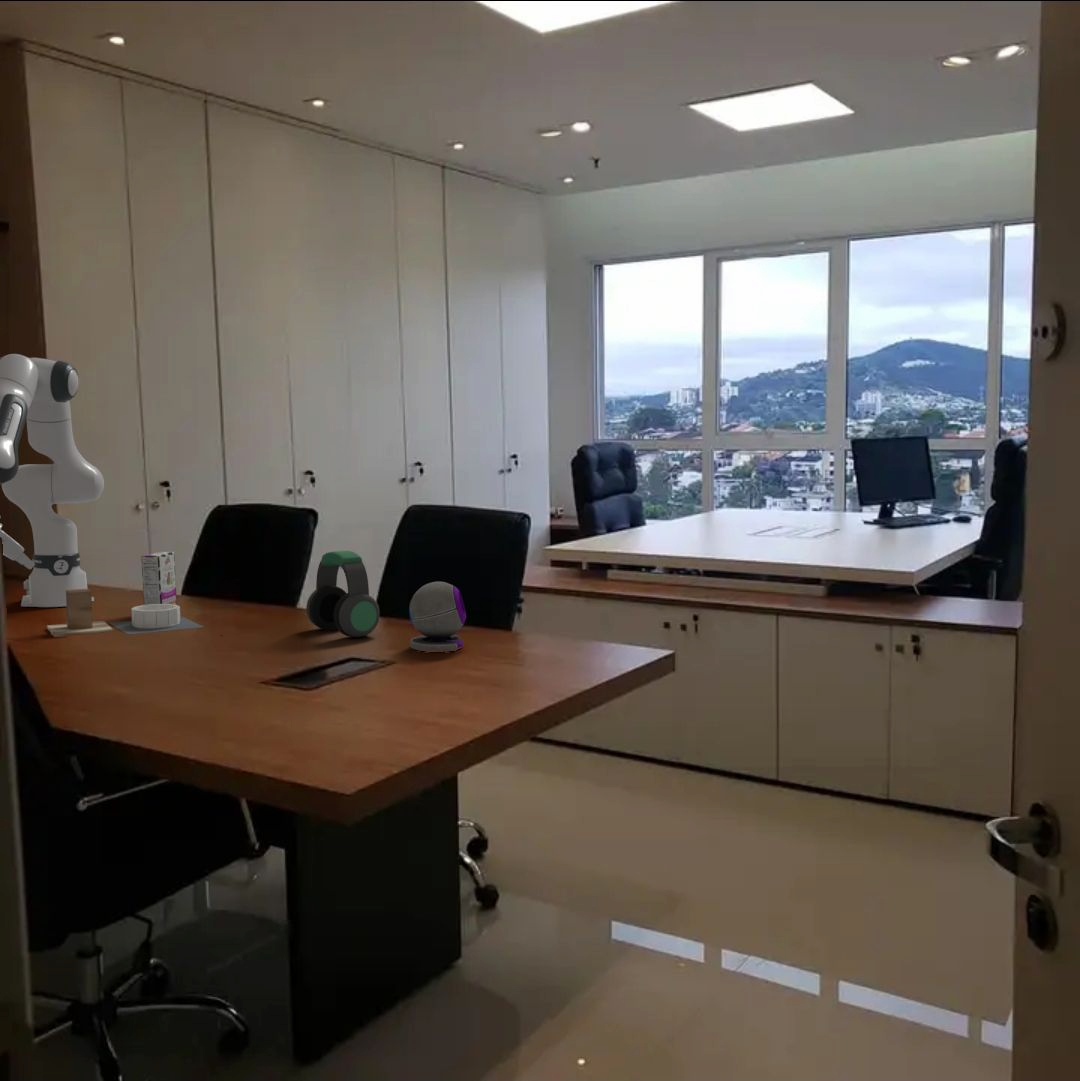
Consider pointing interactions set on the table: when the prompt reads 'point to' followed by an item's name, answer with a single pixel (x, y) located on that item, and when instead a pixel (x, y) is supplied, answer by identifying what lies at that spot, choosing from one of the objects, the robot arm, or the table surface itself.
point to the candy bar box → (159, 578)
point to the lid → (78, 616)
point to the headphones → (343, 597)
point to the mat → (129, 629)
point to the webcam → (437, 617)
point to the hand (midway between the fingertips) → (28, 564)
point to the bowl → (155, 616)
